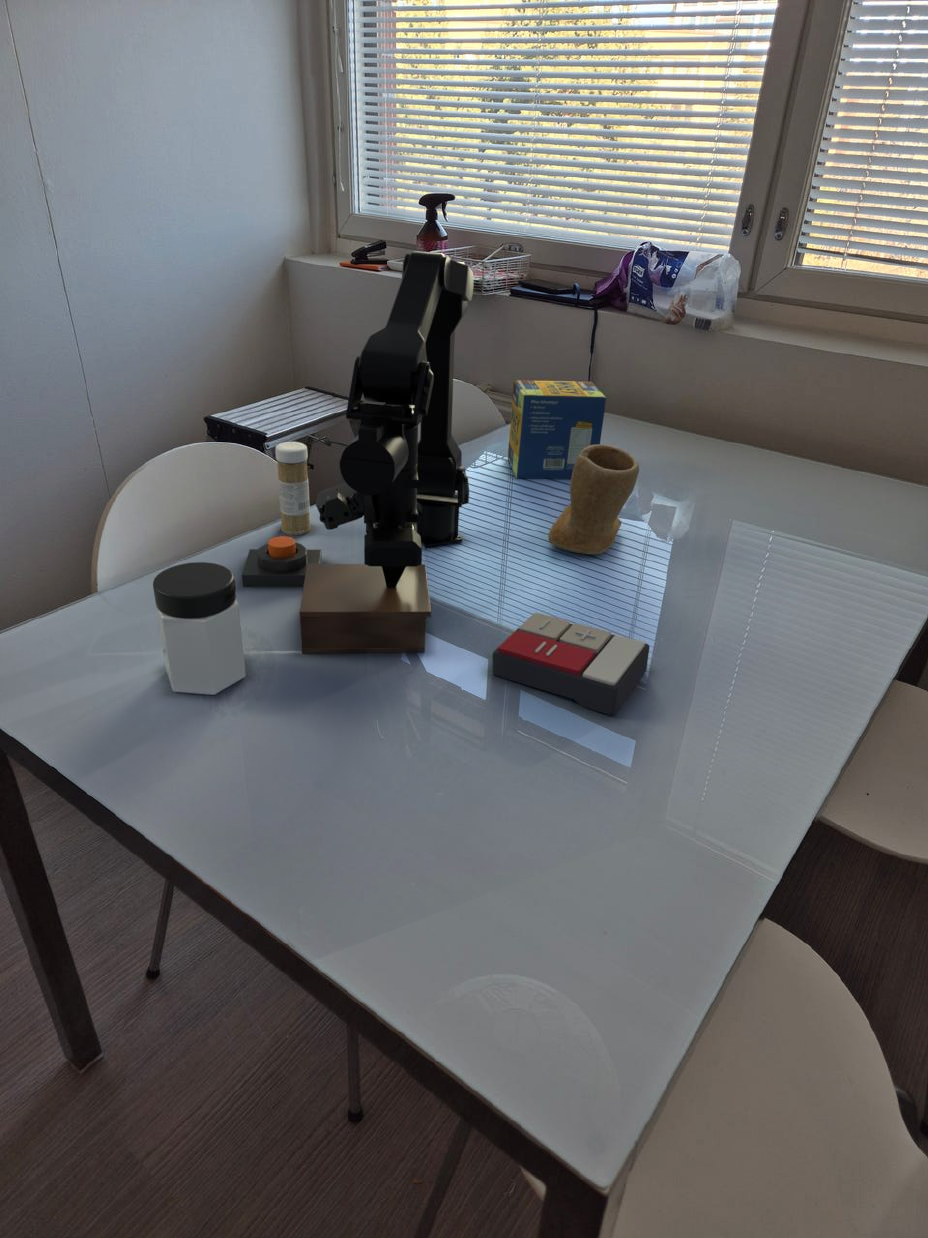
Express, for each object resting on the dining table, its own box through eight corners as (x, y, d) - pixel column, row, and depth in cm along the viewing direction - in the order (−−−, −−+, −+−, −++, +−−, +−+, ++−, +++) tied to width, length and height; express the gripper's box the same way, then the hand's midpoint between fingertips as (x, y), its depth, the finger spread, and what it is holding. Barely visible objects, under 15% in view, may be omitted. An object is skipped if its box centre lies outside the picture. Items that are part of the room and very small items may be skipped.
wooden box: (419, 602, 108) (420, 568, 106) (424, 652, 97) (425, 617, 95) (309, 602, 106) (307, 568, 104) (301, 653, 96) (299, 617, 93)
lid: (425, 568, 106) (425, 564, 105) (431, 617, 95) (431, 611, 95) (307, 568, 104) (307, 563, 104) (299, 617, 93) (299, 611, 93)
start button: (296, 547, 113) (296, 536, 112) (294, 559, 110) (293, 547, 109) (270, 547, 113) (269, 535, 112) (267, 558, 110) (266, 547, 109)
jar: (252, 687, 89) (243, 590, 83) (175, 704, 86) (159, 604, 80) (234, 647, 96) (224, 555, 90) (162, 661, 93) (146, 566, 87)
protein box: (506, 459, 159) (512, 379, 151) (583, 460, 161) (593, 380, 153) (515, 478, 150) (522, 394, 142) (596, 479, 152) (608, 395, 144)
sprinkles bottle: (301, 522, 128) (297, 438, 122) (316, 532, 126) (312, 447, 119) (275, 528, 126) (269, 443, 119) (290, 539, 123) (284, 452, 116)
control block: (321, 561, 117) (320, 539, 115) (318, 587, 110) (317, 564, 108) (250, 561, 116) (248, 538, 114) (242, 587, 109) (240, 564, 107)
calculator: (533, 607, 101) (651, 638, 94) (532, 638, 103) (647, 670, 96) (491, 646, 92) (617, 683, 86) (490, 679, 94) (613, 717, 88)
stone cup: (616, 567, 120) (631, 470, 112) (538, 551, 124) (549, 455, 116) (637, 530, 132) (652, 440, 125) (566, 516, 136) (577, 427, 128)
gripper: (323, 436, 99) (327, 553, 107) (314, 493, 83) (319, 625, 91) (415, 437, 100) (413, 553, 108) (423, 494, 84) (420, 625, 92)
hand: (391, 586), depth 99 cm, fingers closed, pressing on lid
